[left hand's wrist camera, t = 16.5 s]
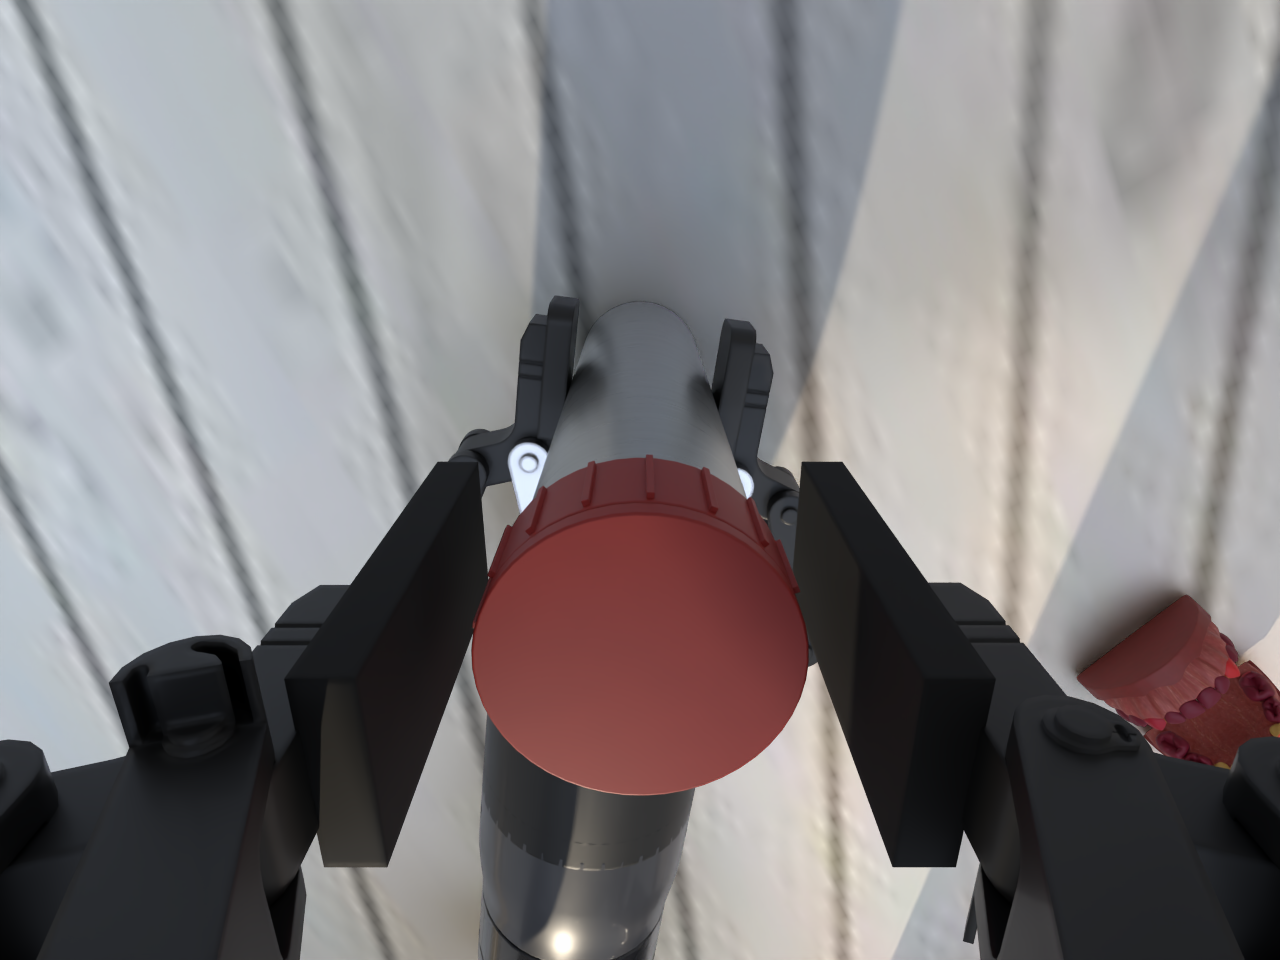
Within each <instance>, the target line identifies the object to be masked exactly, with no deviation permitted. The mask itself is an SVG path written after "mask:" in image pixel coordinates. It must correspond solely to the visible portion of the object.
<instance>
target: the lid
mask: <svg viewBox="0 0 1280 960" xmlns="http://www.w3.org/2000/svg"><path fill="white" fill-rule="evenodd" d="M487 576H489V577H490V578H489V580H488V583H487V586H486V588H485V591H484V594H483V596H482V599H481V602H480V604H479V607H478V610H477V612H476V615H475V618H474V620H473V626H472V627H473V628H474V631H473V639H472V649H471V652H472V669H473V674H474V679H475V683H476V687H477V690H478V693H479V696H480V698H481V701H482V704H483V706H484V708H485V710H486V711H487V713H488V715H489V717H490V719H491V720H492V722H493V723H494V725H495V726H496V727H497V729H498V730H499V731H500V733H501V734H502V735H503V737H504V738H505V739H506V740H507V741H508V742H509V743H510V744H511V745H512V746H513V747H514V748H515V749H516V750H517V751H518V752H520V753H521V754H522V755H523V756H524V757H526V758H527V759H528V760H529V761H531V762H532V763H534V764H535V765H537V766H538V767H540V768H542V769H543V770H545V771H546V772H548V773H550V774H552V775H554V776H556V777H559V778H561V779H563V780H565V781H567V782H570V783H573V784H576V785H579V786H582V787H584V788H589V789H593V790H597V791H601V792H607V793H614V794H622V795H657V794H667V793H673V792H679V791H684V790H688V789H691V788H695V787H698V786H702V785H705V784H707V783H710V782H712V781H715V780H717V779H720V778H722V777H724V776H726V775H728V774H730V773H732V772H733V771H735V770H737V769H739V768H741V767H742V766H743V765H745V764H746V763H748V762H749V761H751V760H752V759H754V758H755V757H756V756H757V755H758V754H760V753H761V752H762V751H763V750H764V749H765V748H766V747H767V746H769V745H770V744H771V742H772V741H773V740H774V739H775V738H776V737H777V736H778V734H779V733H780V732H781V731H782V730H783V728H784V727H785V725H786V724H787V722H788V721H789V719H790V718H791V716H792V714H793V712H794V710H795V708H796V706H797V704H798V702H799V700H800V697H801V694H802V691H803V688H804V684H805V681H806V676H807V670H808V663H809V642H808V636H807V630H806V624H805V621H804V618H803V615H802V612H801V609H800V606H799V603H798V601H797V598H796V595H795V594H796V593H799V592H800V589H799V586H798V584H797V581H796V579H795V576H794V574H793V571H792V568H791V566H790V563H789V561H788V558H787V555H786V553H785V550H784V548H783V545H782V543H781V540H780V539H779V540H776V541H775V539H774V537H773V535H772V533H771V531H770V529H769V527H768V525H767V524H766V522H765V521H764V519H763V518H762V517H761V515H760V514H759V512H758V509H757V507H756V504H755V501H754V500H753V499H752V498H751V497H749V498H748V499H746V498H745V497H744V496H743V495H742V494H740V493H739V492H738V491H737V490H735V489H734V488H733V487H732V486H730V485H729V484H727V483H726V482H724V481H722V480H721V479H719V478H717V477H716V476H714V475H712V474H710V470H709V469H708V468H706V467H703V468H702V470H701V469H698V468H696V467H693V466H690V465H686V464H683V463H679V462H676V461H669V460H663V459H657V458H653V455H648V454H646V458H626V459H615V460H611V461H606V462H601V463H597V464H596V463H595V461H591V462H588V466H587V467H585V468H582V469H579V470H577V471H575V472H573V473H571V474H569V475H567V476H565V477H563V478H561V479H559V480H558V481H556V482H555V483H553V484H552V485H550V486H549V487H547V488H545V487H544V486H542V487H541V488H539V489H538V492H537V495H536V498H534V499H533V500H532V501H531V502H530V503H529V505H528V506H527V507H526V508H525V509H524V510H523V512H522V513H521V514H520V515H519V517H518V518H517V520H516V521H515V523H514V525H513V526H512V527H511V526H509V525H507V527H506V528H505V530H504V533H503V536H502V538H501V541H500V544H499V546H498V549H497V551H496V554H495V557H494V559H493V562H492V564H491V567H490V570H489V572H488V575H487Z"/></svg>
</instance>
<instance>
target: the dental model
mask: <svg viewBox="0 0 1280 960" xmlns="http://www.w3.org/2000/svg"><path fill="white" fill-rule="evenodd" d="M1236 661H1238V653H1237V651H1236V650H1235V648H1234V644H1233V643H1232V641H1231V640H1230V639H1229V638H1228V637H1227V636H1225V635H1224V634H1222V633H1220V632H1219V630H1218V628H1217V626H1216V625H1215V624H1214V623H1213V622H1212V621H1211V616H1210V615H1209V614H1208V613H1207V612H1206V611H1205V610H1204V609H1203V608H1202V607H1201V606H1200V605H1199V604H1198V603H1196V602H1195V601H1194V600H1193V599H1192V598H1191V597H1190V596H1188V595H1184V596H1183V597H1181V598H1180V599H1178V600H1177V601H1176V602H1174V603H1173V604H1172V605H1170V606H1169V607H1168V608H1166V609H1165V610H1163V611H1162V612H1161V613H1160V614H1158V615H1157V616H1156V617H1154V618H1153V619H1151V620H1150V621H1149V622H1147V623H1146V624H1145V625H1143V626H1142V627H1141V628H1139V629H1138V630H1137V631H1135V632H1134V633H1133V634H1131V635H1130V636H1129V637H1127V638H1126V639H1125V640H1124V641H1122V642H1121V643H1120V644H1118V645H1117V646H1116V647H1114V648H1113V649H1112V650H1110V651H1109V652H1108V653H1107V654H1105V655H1104V656H1103V657H1101V658H1100V659H1099V660H1097V661H1096V662H1095V663H1093V664H1092V665H1091V666H1090V667H1088V668H1087V669H1086V670H1084V671H1083V672H1082V673H1080V674H1079V675H1078V676H1077V680H1078V681H1079V682H1080V683H1081V684H1082V685H1083V686H1084V687H1085V688H1086V689H1087V690H1088V691H1089V692H1090V693H1091V694H1092V695H1093V696H1094V697H1096V698H1097V699H1099V700H1104V702H1105V703H1107V704H1108V705H1109V706H1111V707H1113V708H1115V709H1116V711H1117V713H1118V714H1119V715H1120V716H1121V717H1122V718H1123V719H1125V720H1126V721H1128V722H1131V723H1133V724H1135V725H1137V726H1142V727H1146V726H1147V725H1150V726H1151V727H1153V728H1152V729H1150V730H1149V731H1148V732H1146V734H1145V735H1144V738H1145V739H1146V740H1147V741H1148V742H1149V743H1150V744H1152V745H1153V746H1154V747H1155V748H1156V749H1157V750H1158V751H1159V752H1161V753H1162V754H1163V755H1165V756H1169V757H1173V758H1178V759H1183V760H1188V761H1193V762H1197V763H1202V764H1207V765H1212V766H1216V767H1221V768H1226V769H1231V766H1232V764H1233V761H1234V758H1235V756H1236V753H1237V750H1238V748H1239V746H1241V745H1242V744H1244V743H1245V742H1247V741H1248V740H1249V739H1251V738H1260V737H1270V736H1274V737H1280V691H1279V690H1278V689H1277V687H1276V686H1275V685H1274V684H1273V683H1272V681H1271V680H1270V679H1269V678H1268V677H1267V676H1266V675H1265V674H1264V673H1263V672H1262V671H1261V670H1260V669H1259V668H1258V667H1257V666H1256V665H1255V664H1254V663H1253V662H1252V661H1250V660H1249V661H1248V662H1245V663H1243V664H1242V665H1240V666H1239V667H1237V665H1236V664H1235V663H1234V662H1236ZM1214 688H1215V689H1214ZM1195 699H1197V700H1198V701H1199V702H1198V701H1197V700H1195Z"/></svg>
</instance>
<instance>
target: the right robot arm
mask: <svg viewBox="0 0 1280 960" xmlns="http://www.w3.org/2000/svg"><path fill="white" fill-rule="evenodd" d="M578 314H579V299H578V298H570V297H563V296H554V298H553V299H552V301H551V302H550V304H549V309H548V315H539V314H536V315H535V316H534V317H533V319H532V320H531V321H530V323H529V325H528V327H527V329H526V331H525V333H524V335H523V337H522V339H521V343H520V357H519V371H518V386H517V400H516V414H515V423H514V424H513V425H511V426H510V427H507V428H505V429H500V430H496V431H491V432H490V431H488V430H485V429H476V430H472V431H471V432H469V433H468V434H467V435H466V436H465V437H464V439H463V440H462V442H461V444H460V446H459V449H458V451H457V452H456V453H455V454H454V455H453V456H452V457H451V458H450V460H449V461H448V462H478V466H479V478H480V489H481V498H482V496H483V494H484V491H485V489H486V486H490V485H495V484H500V483H505V482H509V481H512V483H513V487H514V491H515V495H516V499H517V503H518V507H519V511H520V514H521V513H522V512H523V510H524V509H525V508H526V507H527V506H528V505H529V503H530V502H531V501H532V500H533V497H534V494H535V491H536V488H537V485H538V482H539V478H540V475H541V472H542V469H543V466H544V463H545V460H546V457H547V454H548V451H549V448H550V445H551V442H552V439H553V436H554V433H555V430H556V427H557V424H558V421H559V418H560V415H561V412H562V409H563V406H564V403H565V400H566V397H567V394H568V391H569V388H570V385H571V382H572V375H573V365H574V355H575V344H576V334H577V324H578ZM772 378H773V369H772V364H771V359H770V354H769V353H768V352H767V350H766V349H765V348H764V346H763V345H762V344H756V330H755V329H754V327H753V326H752V325H751V323H750V322H747V321H740V320H732V319H725V320H724V323H723V326H722V331H721V337H720V343H719V349H718V354H717V360H716V366H715V372H714V378H713V384H712V389H711V391H712V394H713V397H714V400H715V403H716V406H717V409H718V412H719V415H720V418H721V421H722V424H723V427H724V430H725V433H726V436H727V439H728V442H729V445H730V448H731V451H732V454H733V457H734V460H735V463H736V466H737V469H738V472H739V475H740V478H741V481H742V484H743V487H744V490H745V493H746V496H747V499H748V498H749V497H751V498H752V499H753V500H754V501H755V504H756V507H757V509H758V512H759V514H760V515H761V517H762V518H763V519H764V521H765V522H766V524H767V525H768V527H769V529H770V531H771V533H772V535H773V537H774V539H775V541H776V540H779V539H780V540H781V543H782V545H783V548H784V550H785V553H786V555H787V558H788V561H789V563H790V566H791V568H792V571H793V559H794V547H795V536H796V524H797V512H798V501H799V489H800V488H799V486H798V484H797V482H796V480H795V478H794V476H793V475H792V473H791V472H790V471H789V470H787V469H786V468H784V467H778V466H776V467H773V466H771V465H769V464H767V463H765V462H763V461H762V460H760V459H759V458H758V457H757V452H758V447H759V442H760V437H761V432H762V427H763V422H764V418H765V413H766V406H767V403H768V398H769V392H770V388H771V383H772ZM807 636H808V634H807ZM808 642H809V663H808V667H809V666H812V665H814V664H815V663H817V659H816V656H815V653H814V651H813V648H812V645H811V642H810V640H809V637H808ZM694 791H695V788H691V789H688V790H684V791H679V792H673V793H667V794H657V795H622V794H614V793H607V792H601V791H597V790H593V789H589V788H584V787H582V786H579V785H576V784H573V783H570V782H567V781H565V780H563V779H561V778H559V777H556V776H554V775H552V774H550V773H548V772H546V771H545V770H543V769H542V768H540V767H538V766H537V765H535V764H534V763H532V762H531V761H529V760H528V759H527V758H526V757H524V756H523V755H522V754H521V753H520V752H518V751H517V750H516V749H515V748H514V747H513V746H512V745H511V744H510V743H509V742H508V741H507V740H506V739H505V738H504V737H503V735H502V734H501V733H500V731H499V730H498V729H497V727H496V726H495V725H494V723H493V722H492V720H491V719H490V717H489V715H488V713H487V724H486V739H485V754H484V769H483V784H482V799H481V815H480V832H479V847H480V857H481V867H482V874H483V886H482V900H481V914H480V929H479V943H478V960H654V954H655V949H656V944H657V939H658V934H659V929H660V924H661V919H662V914H663V909H664V904H665V901H666V898H667V895H668V893H669V891H670V888H671V886H672V884H673V881H674V878H675V876H676V873H677V869H678V866H679V862H680V858H681V854H682V850H683V845H684V840H685V835H686V830H687V825H688V820H689V815H690V810H691V806H692V801H693V796H694Z"/></svg>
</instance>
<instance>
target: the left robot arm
mask: <svg viewBox="0 0 1280 960" xmlns="http://www.w3.org/2000/svg"><path fill="white" fill-rule="evenodd" d="M793 574H794V576H795V579H796V581H797V584H798V586H799V589H800V592H799V593H796V594H795V595H796V598H797V601H798V603H799V606H800V609H801V612H802V615H803V618H804V621H805V624H806V630H807V634H808V637H809V640H810V642H811V645H812V648H813V651H814V653H815V656H816V659H817V662H818V664H819V667H820V670H821V673H822V675H823V678H824V681H825V684H826V686H827V689H828V692H829V694H830V697H831V700H832V703H833V705H834V708H835V711H836V714H837V716H838V719H839V722H840V725H841V727H842V730H843V733H844V735H845V738H846V741H847V744H848V746H849V749H850V752H851V755H852V757H853V760H854V763H855V766H856V768H857V771H858V774H859V776H860V779H861V782H862V785H863V787H864V790H865V793H866V796H867V798H868V801H869V804H870V807H871V809H872V812H873V815H874V817H875V820H876V823H877V826H878V828H879V831H880V834H881V837H882V839H883V842H884V845H885V848H886V850H887V853H888V856H889V858H890V861H891V864H892V867H956V864H957V859H958V855H959V850H960V845H961V841H962V836H963V831H965V833H966V835H967V837H968V839H969V841H970V843H971V845H972V847H973V849H974V851H975V853H976V855H977V857H978V859H979V861H980V865H979V869H978V873H977V878H976V882H975V886H974V891H973V895H972V900H971V904H970V908H969V913H968V917H967V921H966V926H965V932H964V938H963V941H964V942H968V943H972V944H973V943H974V939H975V935H976V930H978V940H979V949H980V959H981V960H1280V737H1274V736H1270V737H1260V738H1251V739H1249V740H1248V741H1247V742H1245V743H1244V744H1242V745H1241V746H1239V748H1238V750H1237V753H1236V756H1235V758H1234V761H1233V764H1232V766H1231V769H1226V768H1221V767H1216V766H1212V765H1207V764H1202V763H1197V762H1193V761H1188V760H1183V759H1178V758H1173V757H1169V756H1165V755H1161V754H1158V753H1154V752H1153V751H1152V748H1151V746H1150V745H1149V744H1148V742H1147V741H1146V740H1145V738H1144V737H1143V736H1142V734H1141V733H1140V731H1139V730H1138V729H1136V728H1135V727H1134V726H1132V725H1131V724H1130V723H1128V722H1127V721H1126V720H1124V719H1123V718H1122V717H1120V716H1119V715H1117V714H1115V713H1113V712H1111V711H1109V710H1107V709H1105V708H1103V707H1101V706H1099V705H1096V704H1094V703H1091V702H1087V701H1084V700H1080V699H1076V698H1073V697H1069V696H1067V695H1066V694H1065V693H1064V692H1063V691H1062V689H1061V688H1060V687H1059V686H1058V684H1057V683H1056V682H1055V681H1054V680H1053V678H1052V677H1051V676H1050V675H1049V674H1048V672H1047V671H1046V670H1045V669H1044V667H1043V666H1042V665H1041V664H1040V663H1039V661H1038V660H1037V659H1036V658H1035V656H1034V655H1033V654H1032V653H1031V652H1030V650H1029V649H1028V648H1027V647H1026V646H1025V644H1024V643H1020V638H1019V637H1018V636H1017V635H1016V633H1015V632H1014V631H1013V630H1012V628H1011V627H1010V626H1009V625H1006V624H1005V620H1004V619H1003V618H1002V616H1001V615H1000V614H999V613H998V611H997V610H996V609H995V608H994V607H993V605H992V604H991V603H990V602H989V600H987V599H985V598H984V597H982V596H981V595H979V594H977V593H976V592H974V591H973V590H971V589H969V588H968V587H966V586H965V585H963V584H962V583H928V582H927V581H926V579H925V578H924V576H923V575H922V574H921V572H920V571H919V569H918V568H917V567H916V565H915V564H914V562H913V561H912V560H911V558H910V557H909V555H908V554H907V552H906V551H905V550H904V548H903V547H902V545H901V544H900V543H899V541H898V540H897V538H896V537H895V536H894V534H893V533H892V531H891V530H890V528H889V527H888V526H887V524H886V523H885V521H884V520H883V519H882V517H881V516H880V514H879V513H878V512H877V510H876V509H875V507H874V506H873V504H872V503H871V502H870V500H869V499H868V497H867V496H866V495H865V493H864V492H863V490H862V489H861V488H860V486H859V485H858V483H857V482H856V480H855V479H854V478H853V476H852V475H851V473H850V472H849V471H848V469H847V468H846V466H845V465H844V464H843V462H802V466H801V478H800V489H799V501H798V512H797V524H796V536H795V547H794V559H793ZM487 575H488V571H487V559H486V548H485V536H484V524H483V513H482V501H481V489H480V478H479V466H478V462H437V464H436V465H435V466H434V468H433V469H432V471H431V472H430V473H429V475H428V476H427V478H426V479H425V480H424V482H423V483H422V485H421V486H420V488H419V489H418V490H417V492H416V493H415V495H414V496H413V497H412V499H411V500H410V502H409V503H408V504H407V506H406V507H405V509H404V510H403V512H402V513H401V514H400V516H399V517H398V519H397V520H396V521H395V523H394V524H393V526H392V527H391V528H390V530H389V531H388V533H387V534H386V535H385V537H384V538H383V540H382V541H381V543H380V544H379V545H378V547H377V548H376V550H375V551H374V552H373V554H372V555H371V557H370V558H369V559H368V561H367V562H366V564H365V565H364V567H363V568H362V569H361V571H360V572H359V574H358V575H357V576H356V578H355V579H354V581H353V582H352V583H351V585H319V586H318V587H316V588H315V589H313V590H312V591H310V592H308V593H307V594H305V595H304V596H302V597H301V598H299V599H297V600H296V601H294V602H293V603H292V604H291V605H290V606H289V607H288V608H287V610H286V611H285V612H284V613H283V615H282V616H281V617H280V618H279V619H278V621H277V622H276V623H275V628H271V629H270V630H269V632H268V633H267V634H266V635H265V637H264V638H263V639H262V640H261V645H257V646H256V648H255V649H254V650H253V651H251V647H250V646H249V645H247V644H246V643H245V642H243V641H242V640H241V639H239V638H234V637H229V636H224V635H210V636H195V637H191V638H187V639H183V640H179V641H175V642H170V643H168V644H165V645H163V646H160V647H158V648H156V649H153V650H151V651H148V652H146V653H144V654H142V655H140V656H139V657H137V658H136V659H134V660H133V661H131V662H130V663H128V664H127V665H125V666H124V667H122V668H121V669H120V670H119V672H118V673H117V674H116V675H115V676H114V677H113V679H112V680H111V681H110V682H109V685H110V688H111V691H112V695H113V698H114V701H115V704H116V707H117V710H118V713H119V717H120V720H121V723H122V726H123V729H124V732H125V735H126V738H127V742H128V745H129V750H128V752H127V754H126V756H124V757H120V758H116V759H113V760H108V761H103V762H98V763H94V764H89V765H84V766H79V767H75V768H70V769H65V770H61V771H56V772H50V769H49V767H48V764H47V761H46V758H45V756H44V753H43V750H41V749H40V748H39V747H37V746H36V745H34V744H33V743H31V742H28V741H18V740H3V741H0V960H300V951H301V942H302V932H303V923H304V913H305V903H306V890H305V883H304V878H303V873H302V869H301V863H302V861H303V859H304V857H305V855H306V853H307V851H308V849H309V847H310V845H311V843H312V841H313V839H314V837H315V835H316V833H317V836H318V841H319V845H320V850H321V855H322V859H323V864H324V867H388V864H389V861H390V858H391V856H392V853H393V850H394V848H395V845H396V842H397V839H398V837H399V834H400V831H401V828H402V826H403V823H404V820H405V817H406V815H407V812H408V809H409V807H410V804H411V801H412V798H413V796H414V793H415V790H416V787H417V785H418V782H419V779H420V776H421V774H422V771H423V768H424V766H425V763H426V760H427V757H428V755H429V752H430V749H431V746H432V744H433V741H434V738H435V735H436V733H437V730H438V727H439V724H440V722H441V719H442V716H443V714H444V711H445V708H446V705H447V703H448V700H449V697H450V694H451V692H452V689H453V686H454V683H455V681H456V678H457V675H458V673H459V670H460V667H461V664H462V662H463V659H464V656H465V653H466V651H467V648H468V645H469V642H470V640H471V637H472V634H473V631H474V628H473V627H472V626H473V620H474V618H475V615H476V612H477V610H478V607H479V604H480V602H481V599H482V596H483V594H484V591H485V588H486V586H487V583H488V576H487Z"/></svg>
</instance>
